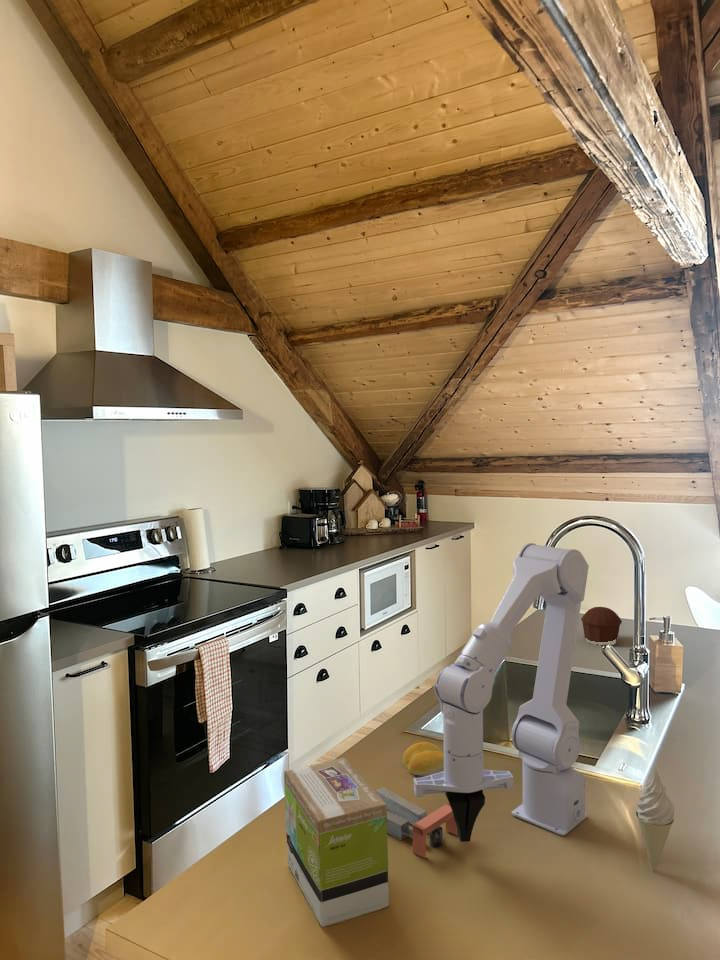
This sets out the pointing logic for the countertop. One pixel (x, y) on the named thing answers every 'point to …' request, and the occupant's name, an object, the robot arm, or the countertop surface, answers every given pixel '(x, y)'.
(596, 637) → the muffin
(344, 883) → the tea box
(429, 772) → the bread roll
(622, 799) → the countertop surface
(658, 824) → the ice cream cone
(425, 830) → the pink bridge block
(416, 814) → the bar
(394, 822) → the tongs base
